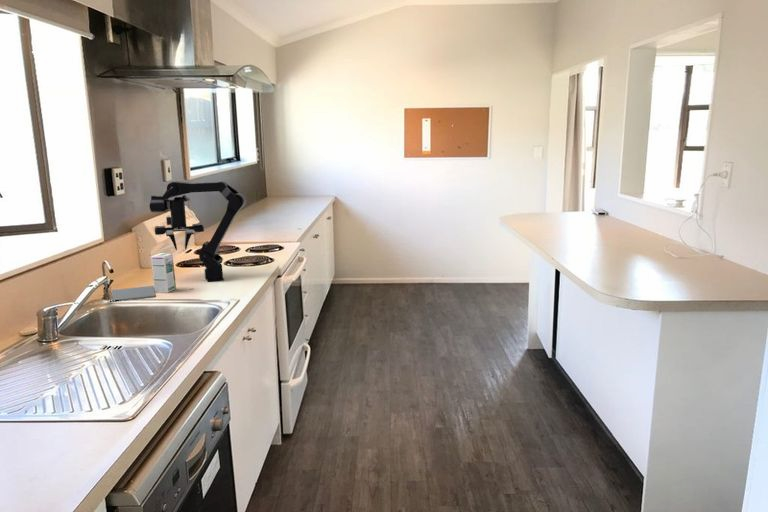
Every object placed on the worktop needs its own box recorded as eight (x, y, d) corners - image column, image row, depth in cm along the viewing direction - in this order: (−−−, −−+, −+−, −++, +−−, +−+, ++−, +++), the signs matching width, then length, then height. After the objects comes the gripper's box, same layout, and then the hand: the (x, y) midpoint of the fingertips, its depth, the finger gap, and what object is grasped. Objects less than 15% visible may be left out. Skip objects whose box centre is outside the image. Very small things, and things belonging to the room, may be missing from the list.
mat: (153, 287, 221) (153, 285, 221) (155, 297, 207) (155, 295, 207) (108, 291, 215) (108, 290, 215) (107, 302, 201) (107, 300, 201)
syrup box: (168, 293, 213) (164, 256, 210) (154, 292, 214) (150, 255, 211) (176, 289, 218) (173, 253, 215) (162, 288, 219) (159, 252, 216)
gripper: (199, 208, 238) (202, 244, 241) (152, 211, 230) (155, 248, 233) (202, 211, 228) (205, 249, 231) (153, 214, 220) (157, 252, 223)
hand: (181, 249), depth 230 cm, fingers open, 3 cm apart
